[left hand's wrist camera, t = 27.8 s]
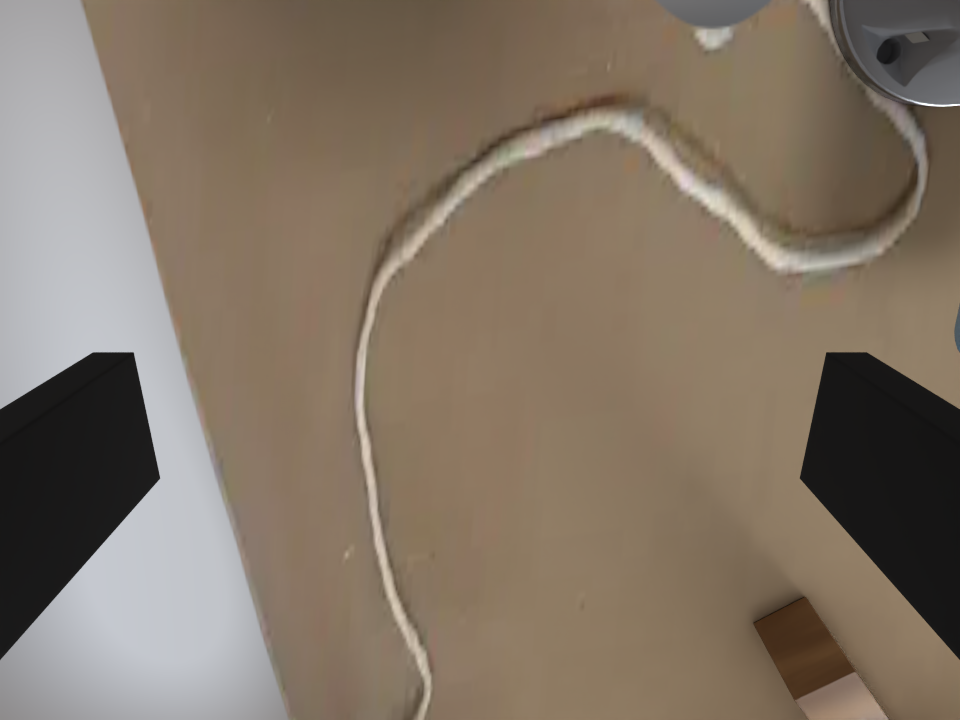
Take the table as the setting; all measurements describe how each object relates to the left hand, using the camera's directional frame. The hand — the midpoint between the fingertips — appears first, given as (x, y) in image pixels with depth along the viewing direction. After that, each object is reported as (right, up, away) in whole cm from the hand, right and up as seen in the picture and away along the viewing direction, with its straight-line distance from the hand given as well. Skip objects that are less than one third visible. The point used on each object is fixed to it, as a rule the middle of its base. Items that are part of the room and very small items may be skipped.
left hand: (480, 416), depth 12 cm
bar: (+34, -31, +47) cm, 65 cm away
